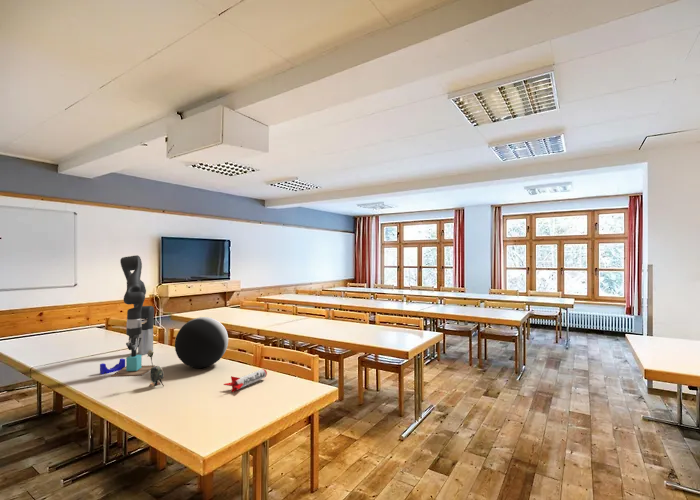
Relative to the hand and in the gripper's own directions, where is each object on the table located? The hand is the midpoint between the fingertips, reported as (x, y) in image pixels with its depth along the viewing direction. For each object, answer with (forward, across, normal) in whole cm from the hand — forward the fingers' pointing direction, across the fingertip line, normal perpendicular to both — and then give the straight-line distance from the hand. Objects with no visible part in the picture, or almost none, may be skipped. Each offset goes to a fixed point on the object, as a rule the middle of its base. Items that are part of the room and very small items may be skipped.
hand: (133, 356), depth 200 cm
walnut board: (+9, 0, 0) cm, 9 cm away
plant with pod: (+10, +26, +24) cm, 36 cm away
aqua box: (+8, 0, 0) cm, 8 cm away
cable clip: (+10, -3, -13) cm, 17 cm away
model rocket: (+10, +30, +71) cm, 78 cm away
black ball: (+10, -7, +36) cm, 38 cm away
